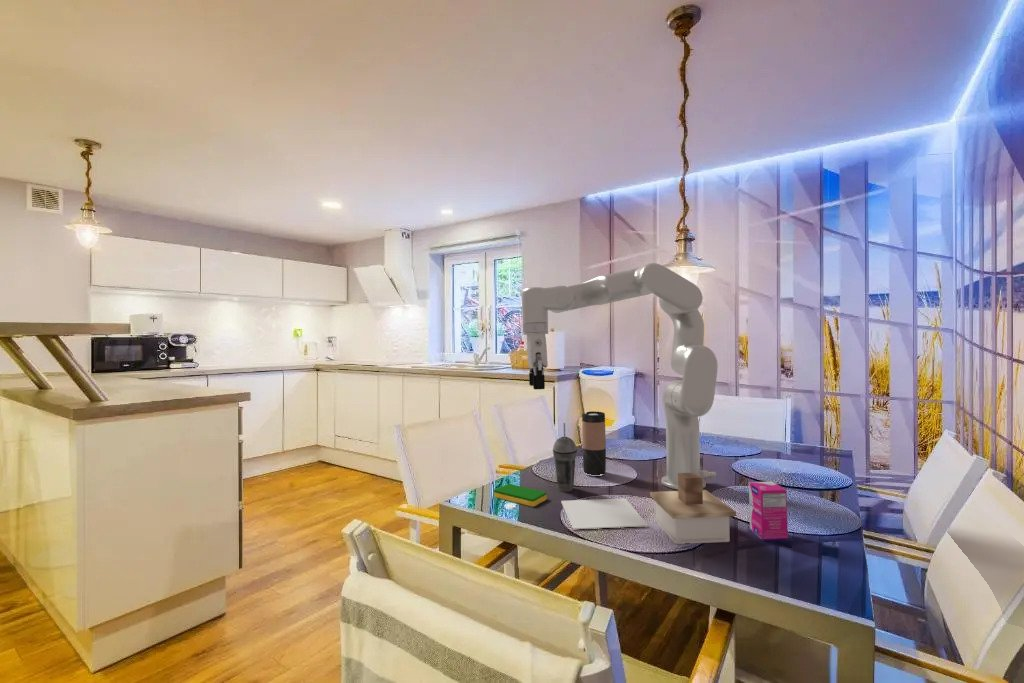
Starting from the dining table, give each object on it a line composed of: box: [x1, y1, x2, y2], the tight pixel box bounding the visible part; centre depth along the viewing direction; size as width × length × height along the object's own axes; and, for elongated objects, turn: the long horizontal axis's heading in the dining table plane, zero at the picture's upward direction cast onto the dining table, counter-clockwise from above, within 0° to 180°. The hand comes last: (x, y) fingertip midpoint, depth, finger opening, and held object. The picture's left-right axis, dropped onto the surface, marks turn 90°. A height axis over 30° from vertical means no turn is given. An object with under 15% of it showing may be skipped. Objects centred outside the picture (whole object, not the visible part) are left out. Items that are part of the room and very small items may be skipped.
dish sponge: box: [493, 483, 548, 507], centre depth 130 cm, size 7×14×2 cm, turn 53°
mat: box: [560, 497, 649, 530], centre depth 117 cm, size 18×18×1 cm
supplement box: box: [748, 480, 789, 542], centre depth 102 cm, size 6×6×12 cm
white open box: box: [655, 501, 731, 545], centre depth 106 cm, size 12×12×6 cm
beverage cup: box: [552, 422, 578, 492], centre depth 136 cm, size 7×7×20 cm
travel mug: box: [581, 410, 607, 475], centre depth 151 cm, size 8×8×20 cm
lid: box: [649, 473, 737, 519], centre depth 106 cm, size 14×14×7 cm
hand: (536, 387), depth 135 cm, fingers open, 9 cm apart
